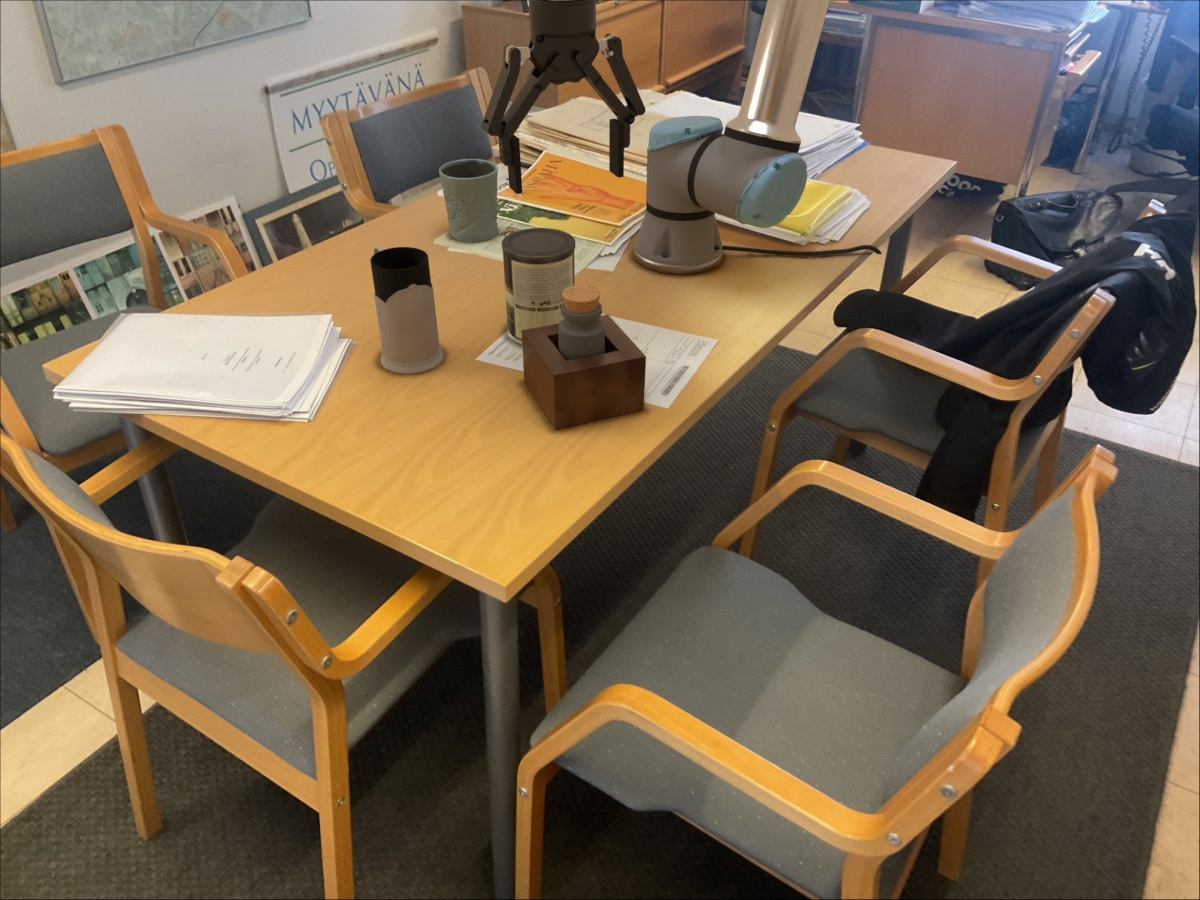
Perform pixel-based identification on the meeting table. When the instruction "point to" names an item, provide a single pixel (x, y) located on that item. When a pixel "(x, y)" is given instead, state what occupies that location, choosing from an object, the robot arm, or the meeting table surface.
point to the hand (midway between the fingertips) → (567, 182)
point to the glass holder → (405, 310)
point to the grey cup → (470, 198)
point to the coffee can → (536, 277)
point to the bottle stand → (583, 377)
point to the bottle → (581, 323)
